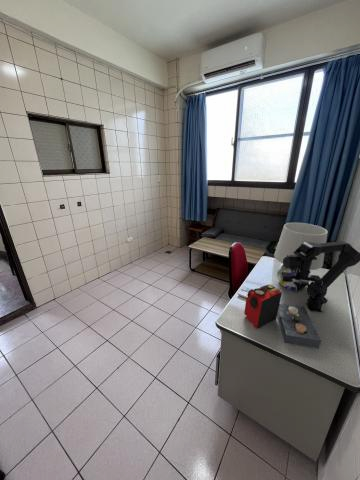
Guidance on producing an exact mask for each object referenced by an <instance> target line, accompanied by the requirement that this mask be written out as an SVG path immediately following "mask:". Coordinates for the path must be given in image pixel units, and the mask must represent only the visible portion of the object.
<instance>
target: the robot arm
mask: <svg viewBox="0 0 360 480" xmlns="http://www.w3.org/2000/svg"><path fill="white" fill-rule="evenodd" d="M300 252H302V253H304V254H305V255H303V254H301V253H300ZM333 252H340V253H339V254H338V256H337V261H336V262H335V264H333V265H332V266H331V267H330V269H329V270H328V271H327V272H326V273H325V274H323V276H322V277H320V275H316V274H311V271H312V270H310V268H311V264H312V261H313V260H317V258H316V257H315V256H318V255H320V254H321V253H324V254H326V253H333ZM294 254H295V255H287V257H285V258H284V259H283V263H282V265H284V267H285V268H289V270H292V271H293V272H294V274H295V276H293V275H290V274H289V272H282V273H281V274H280V277H281V279H282V281H284V282H290V281H291V279H292V281H293V283H294V284H295V287H296V291H295V292H296V293H300V291H302V290H304V287H305V291H306V294H307V295H308V298H307V299H306V302H305V305H306V307H307V309H308V311H311V312H319V313H323V310H322V308H323V306H324V305H325V304H327V302H328V299H327V298H326V297H325V296H326V295H327V292H328V287H330V286H331V285H332V284H333V283H334V282H335V281H336V280H337V279H338V278H339V277H340V276H341V275H342V274H343V272H344V271H345V270H347V269H348V268H350V267H353V266H356V265H357V264H358V263H360V252H359V251H358V250H357V249H355V248H354V247H353V246H352V245H351V244H350V243H348V242H346V241H344V240H338V241H331V242H330V241H329V242H326V243H320V244H318V243H312V242H304V243H302V244H301V245H300V246H299V247H298V248H297V250H296V251H295V252H294ZM308 275H310V277H308ZM299 281H300V282H299Z"/></svg>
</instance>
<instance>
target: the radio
mask: <svg viewBox="0 0 360 480" xmlns="http://www.w3.org/2000/svg"><path fill="white" fill-rule="evenodd" d="M282 295H283V291H281V290H280V288H277V287H275V286H273V285H272V284H266V285H262V286H260V288H259V287H258V288H254V289H250V290H249V291H248V292H247V297H246V299H245V304H244V305H245V306H244V311H243V312H244V313H243V314H244V316H246V317H245V319H246V320H247V321H248V322H249V323H251V325H252V326H253V327H254V328H255V329H256V330H258V329H260V328H262V327H264V326H266V325H268V324H271V322H274V321H275V320H277V313H278V309H279V304H281V300H282Z"/></svg>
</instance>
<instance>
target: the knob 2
mask: <svg viewBox="0 0 360 480" xmlns="http://www.w3.org/2000/svg"><path fill="white" fill-rule="evenodd" d="M295 327H296V329H295V330H296V332H298V333H304V332H305V331H306V327H305V326H304V325H303V324H300V323H297V324H296V325H295Z"/></svg>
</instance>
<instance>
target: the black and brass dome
mask: <svg viewBox="0 0 360 480" xmlns="http://www.w3.org/2000/svg"><path fill="white" fill-rule="evenodd" d="M300 318H301V317H300V316H299V314H298V313H296V314H295V315H294V316H293V320H294V321H295V322H300Z"/></svg>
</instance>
